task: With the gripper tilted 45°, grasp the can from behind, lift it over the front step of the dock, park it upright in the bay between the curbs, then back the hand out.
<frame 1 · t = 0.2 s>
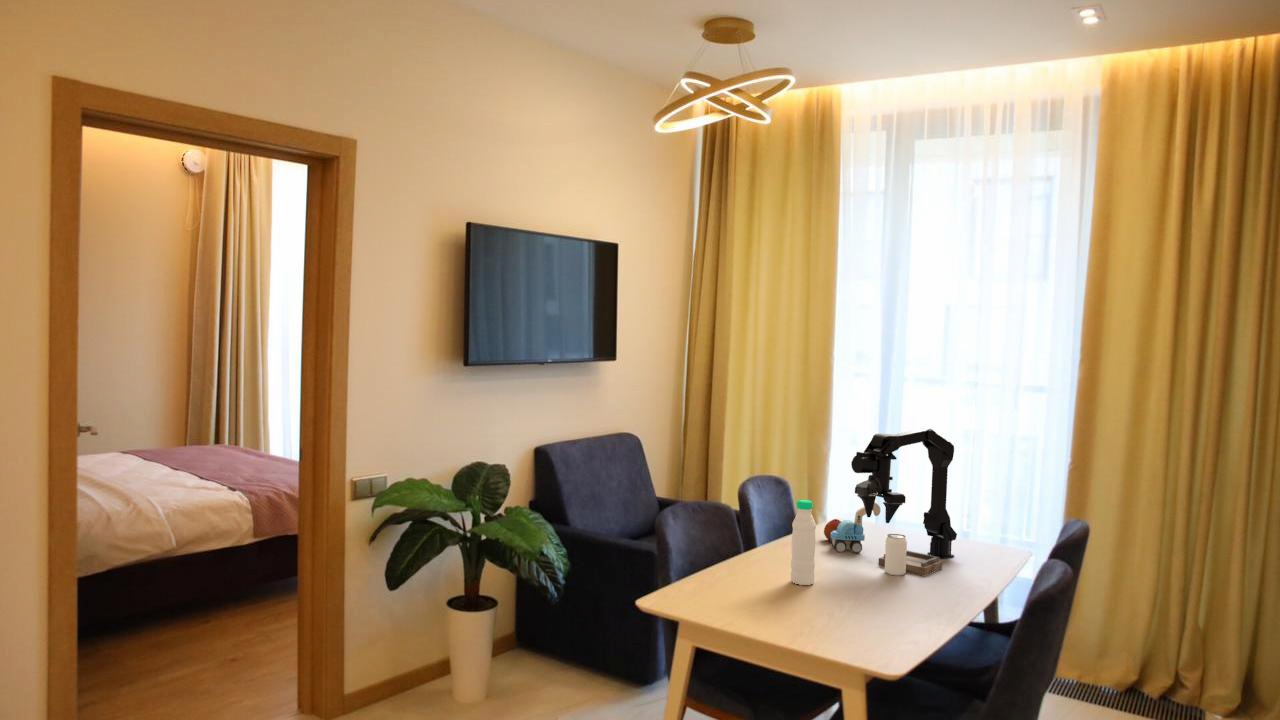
hand: (877, 520, 299), 14 cm above the table, tool pointing down, fingers open, 9 cm apart
water bottle: (802, 583, 275), on the table
fruit: (836, 541, 329), on the table
toy excavator: (854, 551, 316), on the table
dock: (910, 567, 296), on the table
can: (895, 573, 288), on the table
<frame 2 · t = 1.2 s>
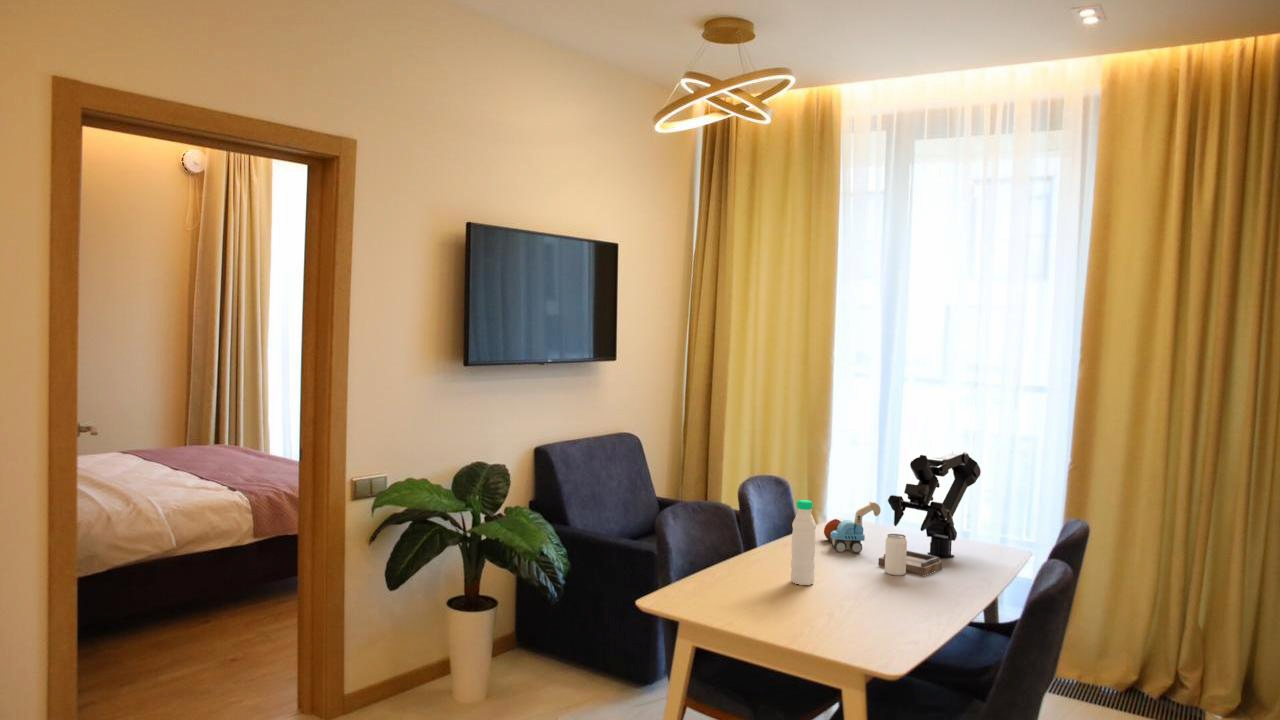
hand: (907, 527, 293), 13 cm above the table, tool tilted 45°, fingers open, 9 cm apart
nothing on the table moved.
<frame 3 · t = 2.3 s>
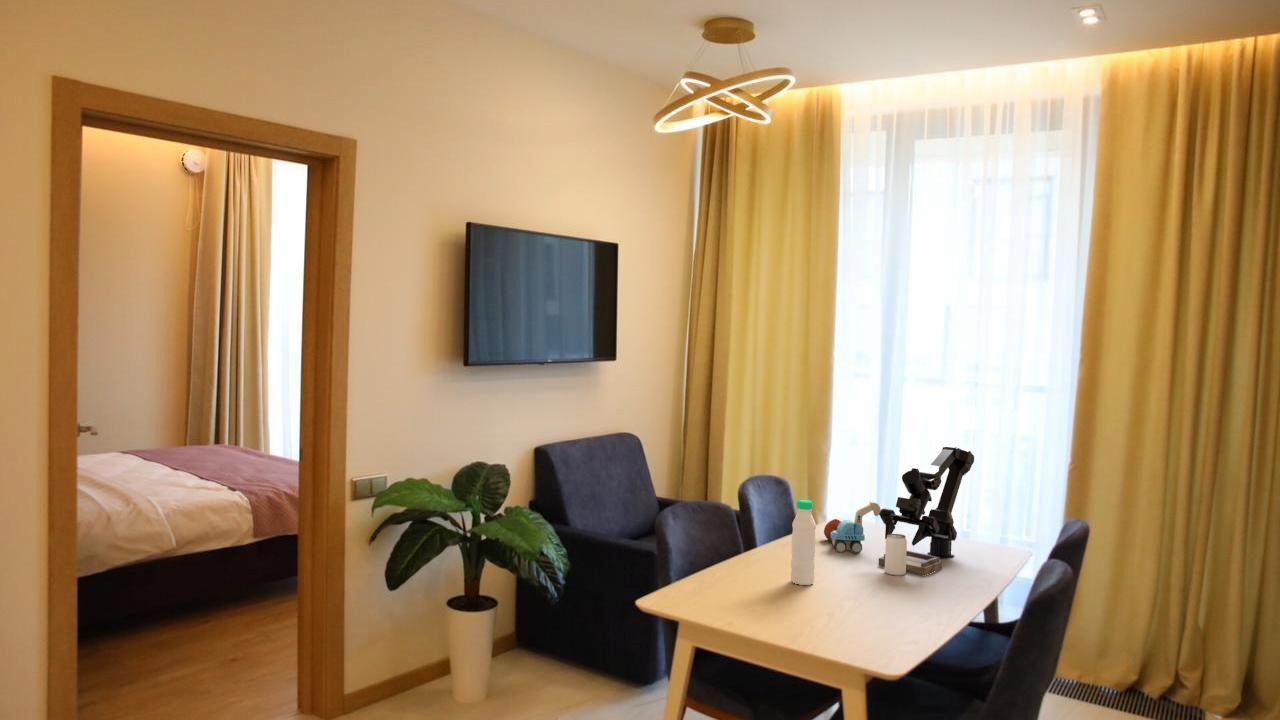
hand: (899, 542, 289), 10 cm above the table, tool tilted 45°, fingers open, 9 cm apart
nothing on the table moved.
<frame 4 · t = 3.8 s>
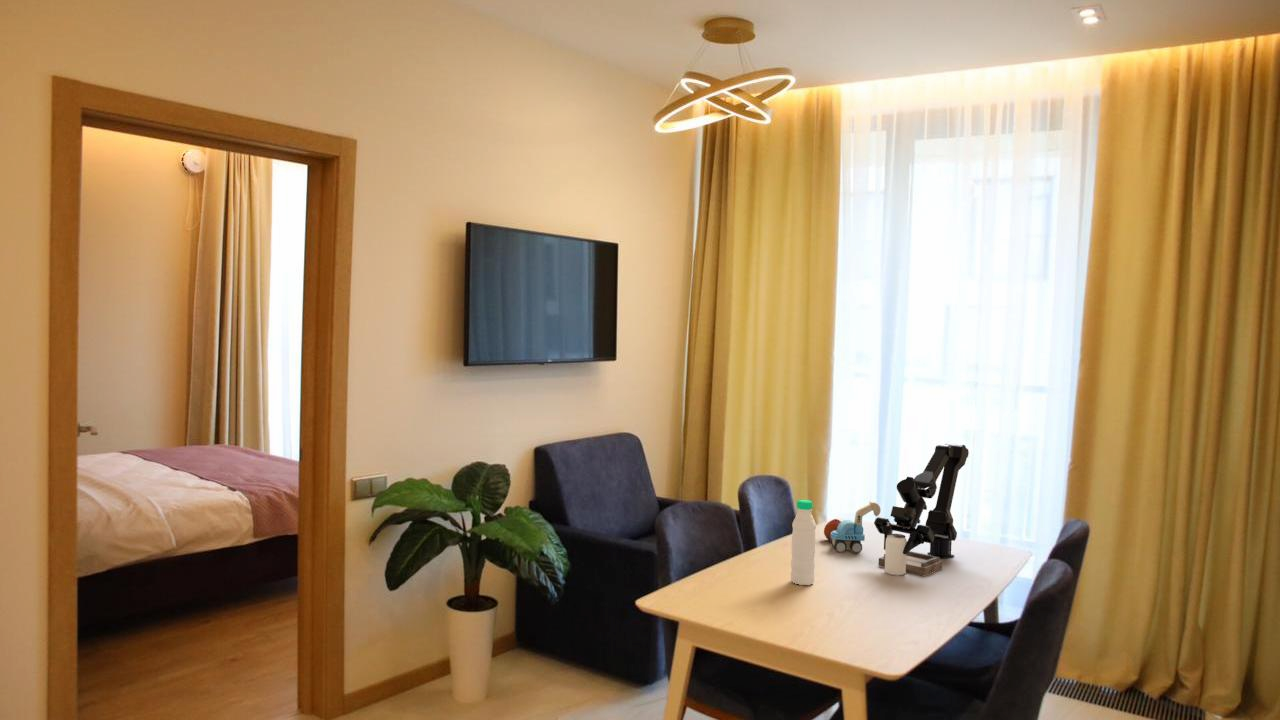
hand: (894, 551, 287), 7 cm above the table, tool tilted 45°, fingers closed on can, 6 cm apart
can: (895, 573, 288), on the table, touching gripper
everything else where it was.
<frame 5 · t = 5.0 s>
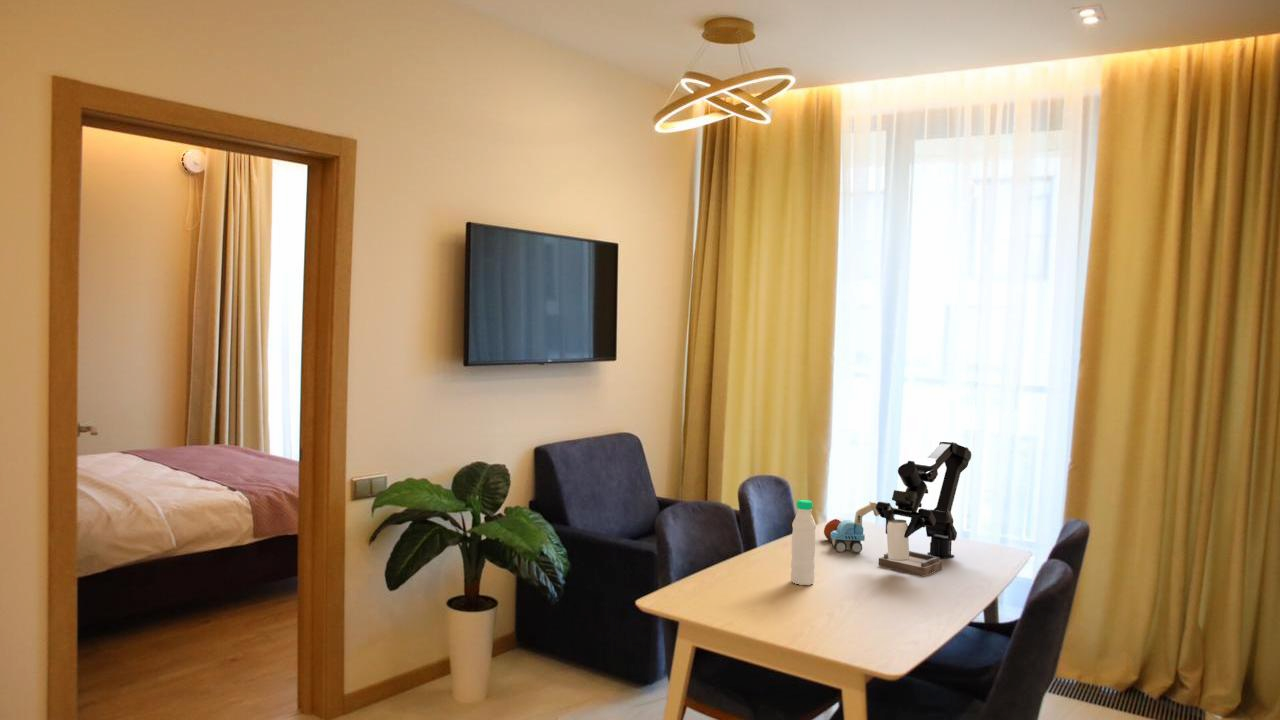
hand: (895, 535, 288), 12 cm above the table, tool tilted 45°, fingers closed on can, 6 cm apart
can: (898, 559, 288), point 4 cm above the table, touching gripper
everything else where it was.
when the fingers open (11 cm above the table, at t = 6.6 s): can stays where it is, resting on dock.
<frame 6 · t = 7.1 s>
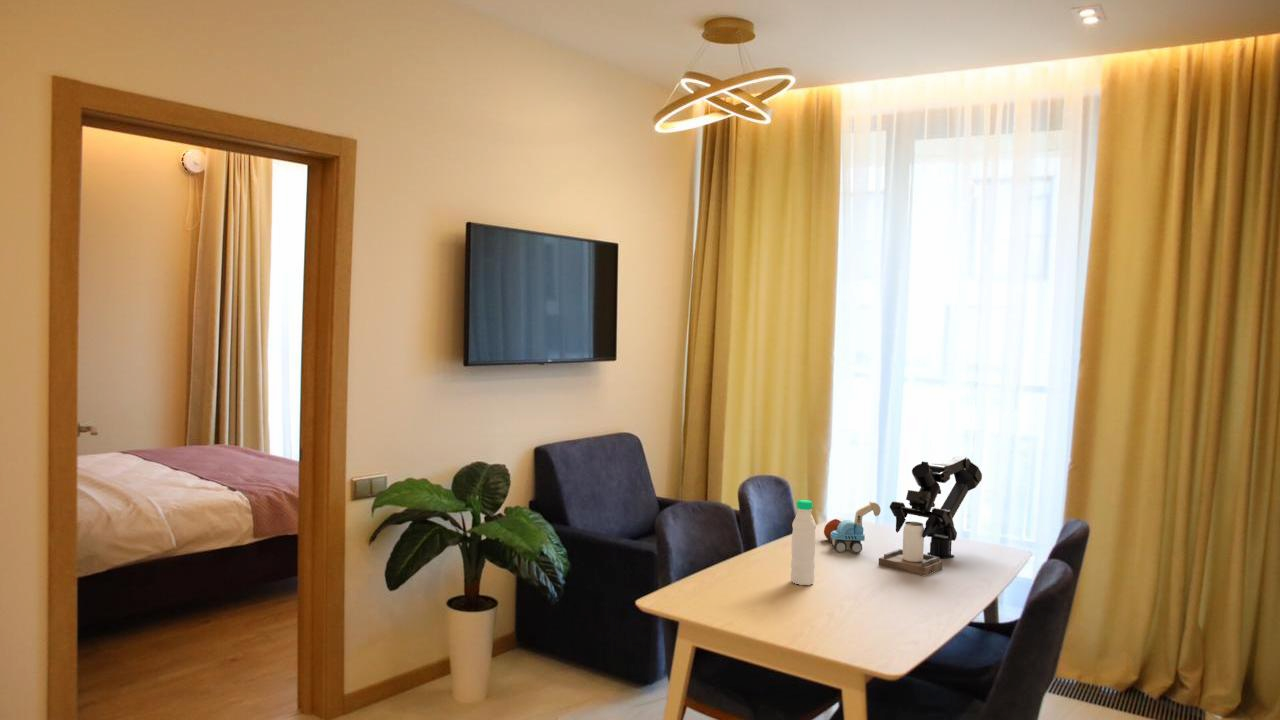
hand: (909, 534, 294), 11 cm above the table, tool tilted 45°, fingers open, 9 cm apart
can: (912, 560, 295), point 2 cm above the table, touching dock
everything else where it was.
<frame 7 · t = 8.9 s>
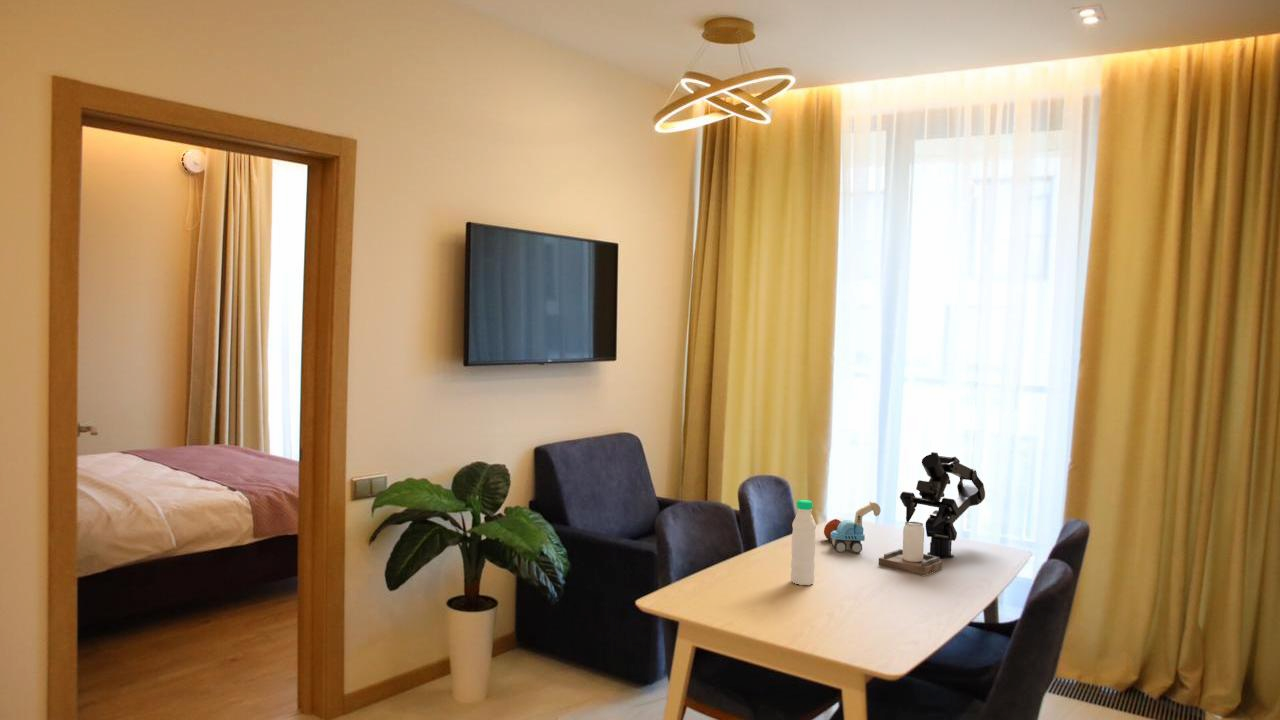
hand: (919, 523, 299), 13 cm above the table, tool tilted 45°, fingers open, 9 cm apart
nothing on the table moved.
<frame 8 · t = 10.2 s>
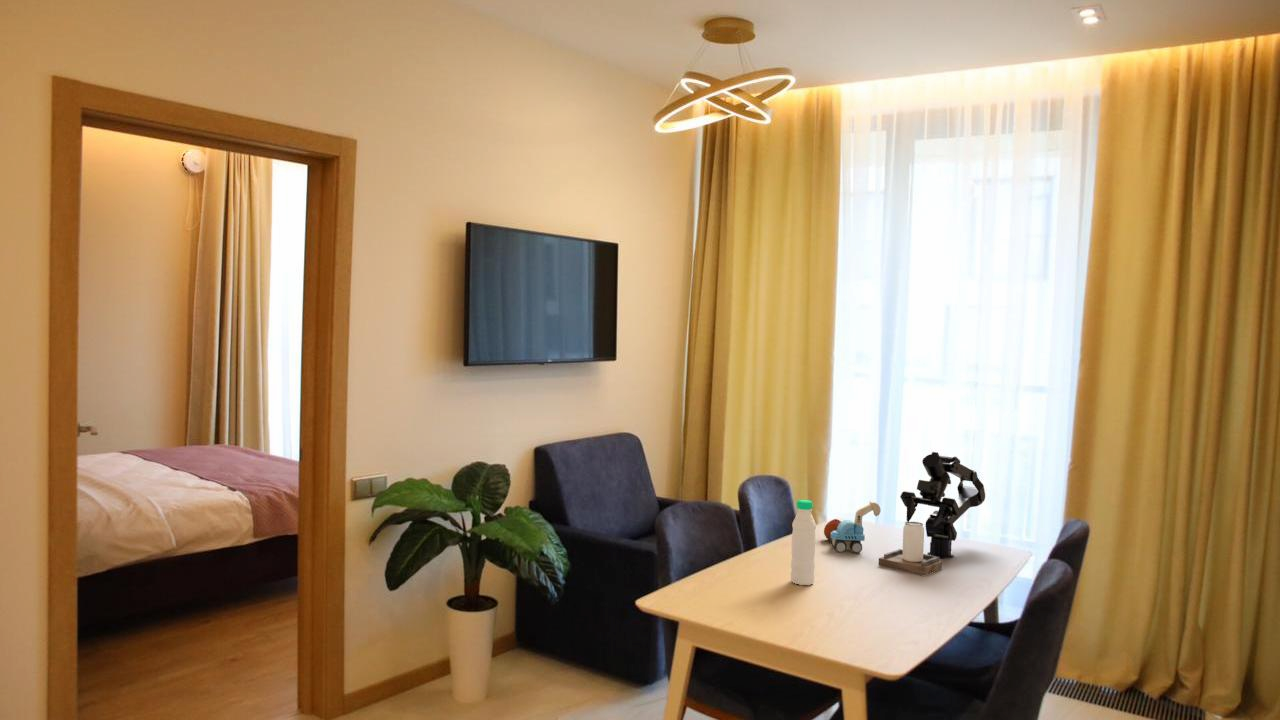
hand: (920, 523, 299), 14 cm above the table, tool tilted 45°, fingers open, 9 cm apart
nothing on the table moved.
at the end: can inside the target area on the dock (0.8 cm from its centre), point 2.3 cm above the dock's base; can tilted 0°; the gripper is holding nothing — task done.
